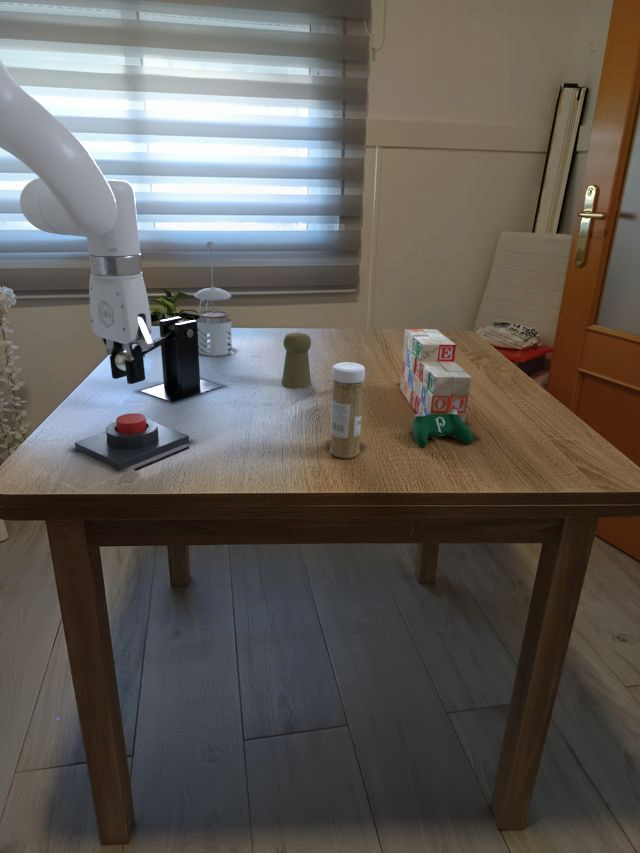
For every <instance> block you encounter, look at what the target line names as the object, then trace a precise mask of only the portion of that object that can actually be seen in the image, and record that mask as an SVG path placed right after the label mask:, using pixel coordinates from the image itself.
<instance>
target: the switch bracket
mask: <svg viewBox="0 0 640 853" xmlns="http://www.w3.org/2000/svg"><path fill="white" fill-rule="evenodd" d="M177 321H183V317H180V316H174V317H170V318H165V319H160V320H158V323H159V324H158V325H159V337H161V336H162V335H164V334H166V333H168V332H169V331H168V328H167V327H168V326H170V325H171V324H173V323H175V322H177ZM174 327H175V340H173V339H171V340H169V341H168V342H166V343H164V344H162V345H161V346H160V352H161V353H160V354H161V363H162V364H161V366H162V379H163V384H160V385H156V386H152V387H149V388H146V389H142V390H140V391H139V392H140V393H143V394H146V395H149V396H152V397H154V398H157V399H160V400H164V401H167V402H169V403H172V404H175V403H177V402H181V401H184V400H187V399H189V398H192V397H195V396H199V395H201V394H204V393H208V392H211V391H214V390H217V389H221V388H223V385H221V384H218V383H214V382H211V381H208V380H204V379H202V378H201V374H200V373H201V372H200V354H199V348H198V327H197V321H196V320H195V319H193V320H188V321H183V322H182V323H177V324H174Z"/></svg>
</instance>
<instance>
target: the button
mask: <svg viewBox="0 0 640 853" xmlns="http://www.w3.org/2000/svg"><path fill="white" fill-rule="evenodd" d="M146 419H147V418H146V415H144V414H142V413H136V412H135V413H134V412H132V413H125V414H121V415H118V416H117V417H116V418H115V422H116V424H117V432H119V433H124V434H133V433H139V432H142V431H145V430H146V429H147V426H146Z"/></svg>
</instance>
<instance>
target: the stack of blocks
mask: <svg viewBox="0 0 640 853" xmlns="http://www.w3.org/2000/svg"><path fill="white" fill-rule="evenodd" d="M456 348H457V344H456V343H454V342H453V341H452V340H450V338H448V337H446V335H444V334H443V333H441V331H439V330H438V329H433V328H431V329H430V328H429V329H428V328H420V329H419V328H417V329H416V328H415V329H413V328H410V329H409V328H408V329H407V328H406V329H404V339H403V349H402V350H403V351H402V367H401V375H400V391H401V393H402V394H403V396H404V398H405V399H406V400H407V402H408V404H409V405H410V406H411V407H412V409H413V410H414V411H415V412H416V415H417V414H418V413H419V412H421V411H424V412H425V415H430V414H448V413H449V412H451V411H452V410H457V414H458V415H459V416H460V418H461V419H462V421H463V422H464V423H466V413H467V409H468V403H469V395H470V392H471V387H472V376H471V375H470V374H468V373H467V372H466V370H465V369H464V368H462V367H461V366H460V365H459V364H458V363H456V361H455V358H456V350H457V349H456Z"/></svg>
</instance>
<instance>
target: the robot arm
mask: <svg viewBox="0 0 640 853" xmlns="http://www.w3.org/2000/svg"><path fill="white" fill-rule="evenodd" d="M0 148H1V149H2V150H4V151H5V152H7V153H9V154H10V155H12V156H13V157H15V158H16V159H18V161H20V162H21V163H22V164H24V165H25V166H26V167H27V168H29V169H30V170H31V171H32V172H33V173H34V174H35V175H36V176H37V178H34V179H33V180H31V181H30V182H28V183H27V184H26V185H24V187H23V188H22V190H21V193H20V196H19V206H20V210H21V212H22V214H23V217H24V218H25V219H26V221H27V222H28V223H29V224H31V225H32V226H33V227H35V228H36V229H38V230H40V231H43V232H45V233H49V234H54V235H61V236H62V235H63V236H71V237H72V236H73V237H82V238H86V243H87V251H88V260H89V267H90V274H89V284H88V285H89V286H88V288H89V289H88V295H89V296H88V297H89V298H88V299H89V314H90V324H91V329H92V332H93V334H94V335H96V336H97V337H99V338H100V339H101V340H102V342H103V343H104V345H105V347H106V354H107V355H108V356H109V363H110V370H111V371H110V372H111V378H112V379H114V380H117V379H121V378H125V377H126V382H127V384H128V385H134V384H136V383H140V382H143V381H145V380H146V372H145V361H144V358H146V354H145V353H146V352H147V350H149V349H150V348H152V347H153V346H154V343H153V339H152V318H151V316H152V315H151V309H150V303H149V298H148V292H147V288H146V284H145V280H144V277H143V265H142V256H141V254H142V253H141V247H140V246H141V244H140V235H139V225H138V214H137V213H138V212H137V203H136V194H135V189H134V187H133V185H132V184H131V183H130V182H129V181H126V180H123V179H106V177H105V175H104V174H103V172H102V171H101V169H100V167H99V165H98V164H97V163H96V161H95V160H94V158H93V157H92V155H91V153H90V152H89V151H88V150H87V148H86V147H85V146H84V144H83V143H82V142H81V141H80V140H79V139H78V137H76V135H75V134H74V133H73V132H71V130H70V129H68V128H67V127H66V126H65V125H64V124H63V123H62V122H61V121H60V120H59V119H57V118H56V117H55V116H54V115H53V114H52V113H50V111H48V110H47V109H46V108H45V107H44V106H43V105H42V104H41V103H39V101H38V100H36V99H35V98H34V97H32V95H30V94H29V93H27V92H26V91H25V90H24V89H23V88H22V87H21V86H20V85H19V84H18V82H17V81H16V80H15V78H14V77H13V76H12V74H11V72H9V69H8V68H7V67H6V66H5V64H4V63H3V61H2V60H1V59H0ZM133 346H134V347H133ZM122 351H126V355H127V359H128V360H125V367H126V371H124V370H121V369H119V368H118V367H117V366H116V364H115V357H116V355H117V354H118V353H120V352H122Z"/></svg>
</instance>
